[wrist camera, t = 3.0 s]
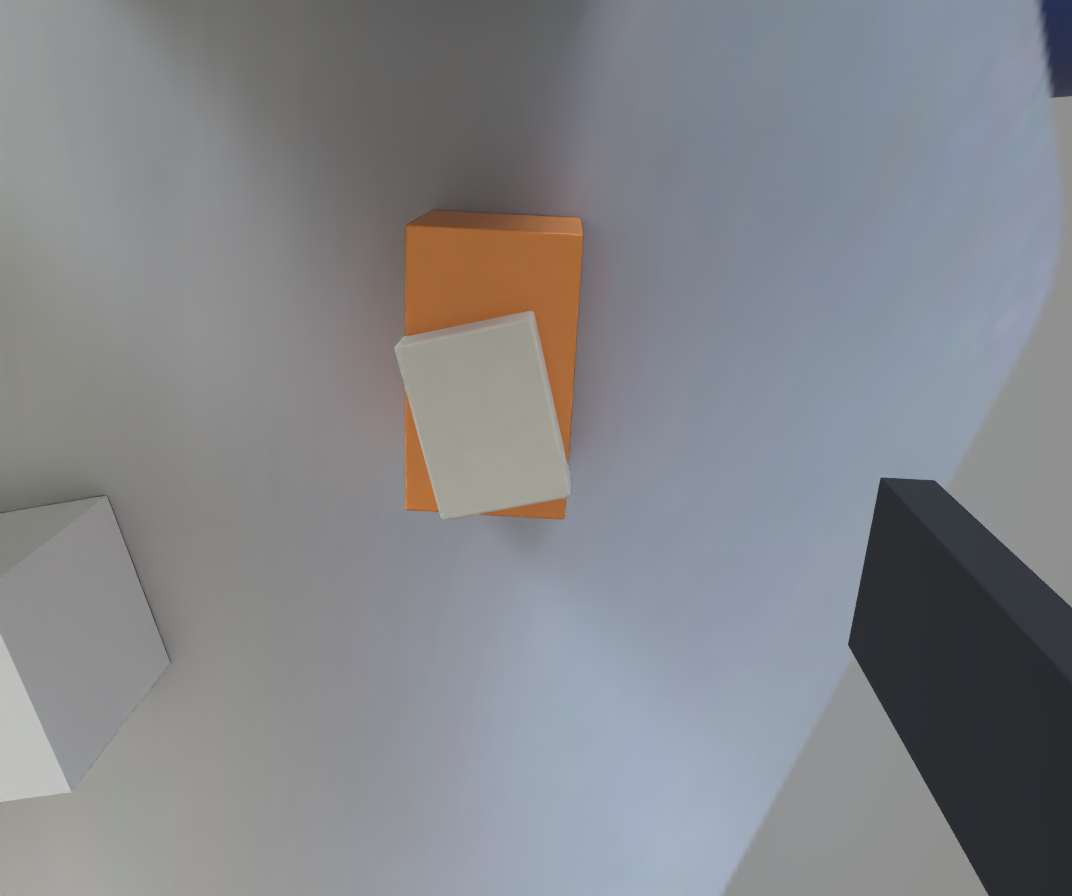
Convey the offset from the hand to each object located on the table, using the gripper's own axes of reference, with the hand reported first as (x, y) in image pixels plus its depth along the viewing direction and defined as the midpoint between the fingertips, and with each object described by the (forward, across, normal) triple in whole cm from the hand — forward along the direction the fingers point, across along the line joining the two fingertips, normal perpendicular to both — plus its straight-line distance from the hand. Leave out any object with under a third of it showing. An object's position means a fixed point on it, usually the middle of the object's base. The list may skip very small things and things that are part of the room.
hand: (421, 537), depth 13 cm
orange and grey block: (+12, 0, 0) cm, 12 cm away
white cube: (+13, -14, -9) cm, 21 cm away
